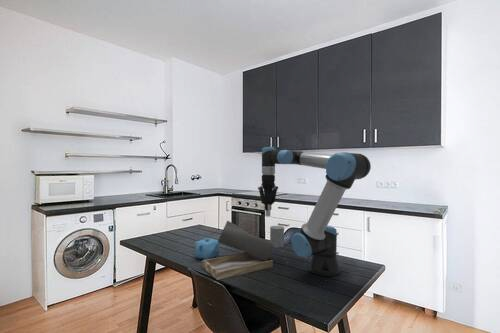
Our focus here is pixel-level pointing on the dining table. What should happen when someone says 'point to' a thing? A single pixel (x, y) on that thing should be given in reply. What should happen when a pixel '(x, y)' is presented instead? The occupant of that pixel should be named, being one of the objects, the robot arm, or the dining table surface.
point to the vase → (245, 241)
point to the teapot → (207, 248)
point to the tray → (234, 265)
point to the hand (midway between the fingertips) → (267, 215)
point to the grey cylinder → (277, 236)
